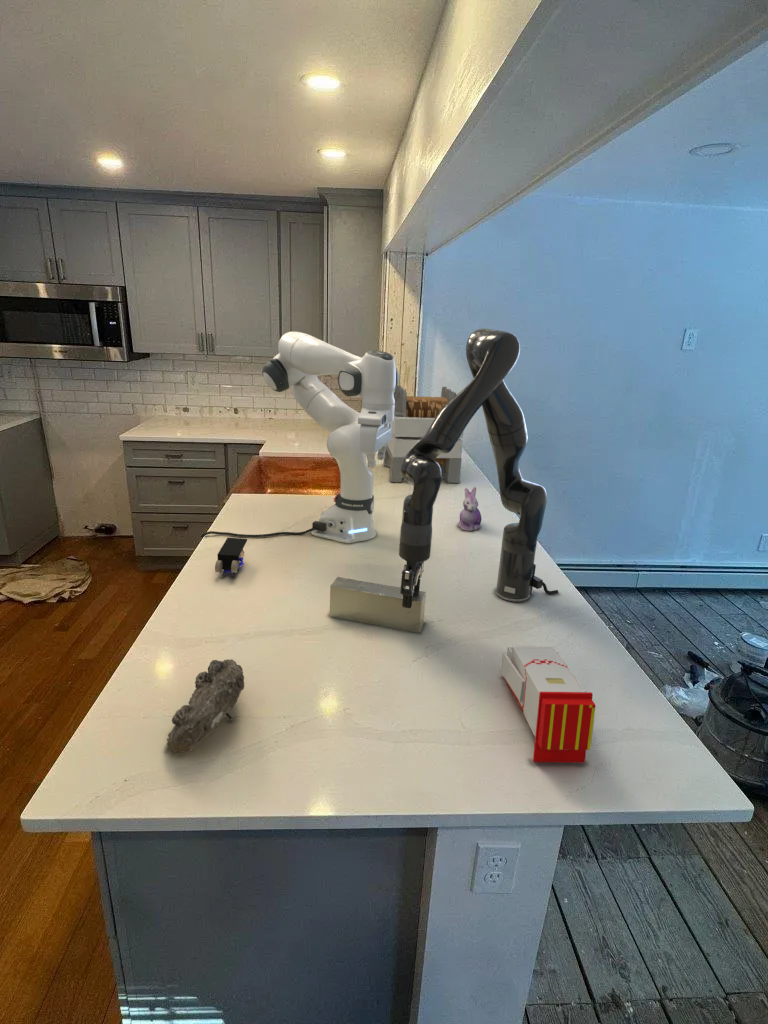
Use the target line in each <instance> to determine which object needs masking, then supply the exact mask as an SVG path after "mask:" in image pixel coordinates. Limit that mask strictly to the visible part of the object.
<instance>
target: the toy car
mask: <svg viewBox="0 0 768 1024" xmlns="http://www.w3.org/2000/svg"><path fill="white" fill-rule="evenodd" d="M247 542H248V538H242V537H226V539H225V541H224V543H223V544H222V546H221V547H220V549H219V551H218V552H217V560H216V562H215V564H214V572H215V573H221V577H222V578H224V577H225V576H226V574H227V573H230V574H231V573H232V574H231V578H234V577H235V575H236V573H237V572H239V571H240V567H242V566H243V565H244V564H245V562H244V558H245V551H244V547H245V546H246V544H247Z"/></svg>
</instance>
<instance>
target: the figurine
mask: <svg viewBox="0 0 768 1024" xmlns="http://www.w3.org/2000/svg"><path fill="white" fill-rule="evenodd" d="M476 494H477V487H476V486H474V487H473V488H472V489H471V491H470V490H469V488H467V487H464V499H463V501H462V506H463V509H462V510H461V511H460V513H459V521H458V527H459V528H460V529H461V530H463V531H469V532H472V531H476V530H478V529H479V528H481V523H482V514H481V512H480V510H479V508H478V507H479V501H478V498H477V497H476Z"/></svg>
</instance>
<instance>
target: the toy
mask: <svg viewBox="0 0 768 1024" xmlns="http://www.w3.org/2000/svg"><path fill="white" fill-rule="evenodd" d="M506 650H507V651H502V652H501V659H500V666H499V671H500V673H501V675H502V677H503V679H504V681H505V683H506V684H507V687H508V688H509V690H510V692H511V693H512V696H513V697H514V699H515V700H516V703H517V704H518V706H519V708H520V709H521V711H522V712H523V716H524V717H525V719H526V722H527V723H528V726H529V728H530V730H531V731H532V734H533V736H534V744H533V745H534V746H533V757H532V762H533V763H568V764H569V763H575V764H576V763H577V764H578V763H579V764H582V763H583V764H585V762H586V754H587V751H591V747H592V746H591V745H592V738H593V729H594V722H595V713H596V707H597V706H596V703H595V702H594V700H593V696H594V695H593V692H590V691H589V692H587V691H586V690H585V688H584V687H583V686H582V684H581V683H580V681H579V680H578V679H577V677H576V676H575V675H574V673H573V672H572V671H571V669H570V668H569V667H568V665H567V664H566V662H565V661H564V659H563V658H562V656H561V655H560V653H559V651H557V649H556V648H555V647H554V646H545V645H544V646H543V645H542V646H540V645H535V646H534V645H512V646H507V649H506Z"/></svg>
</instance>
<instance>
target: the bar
mask: <svg viewBox="0 0 768 1024" xmlns="http://www.w3.org/2000/svg"><path fill="white" fill-rule="evenodd" d="M400 591H401V586H395V585H394V586H393V585H389V584H382V583H376V582H370V581H364V580H359V579H354V578H353V579H352V578H347V577H341V576H337V577H336V578H335V579H334V581H333V582H332V583H331V584H330V586H329V617H331V618H338V619H343V620H347V621H348V620H349V621H354V622H359V623H363V624H369V625H375V626H380V627H385V628H390V629H394V630H395V629H396V630H400V631H406V632H412V633H418V634H420V631H421V630H422V628H423V625H424V623H425V612H426V600H427V591H424V590H419V591H418V590H413V597H412V606H411V608H405V607H403V606H402V602H403V594H400Z"/></svg>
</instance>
